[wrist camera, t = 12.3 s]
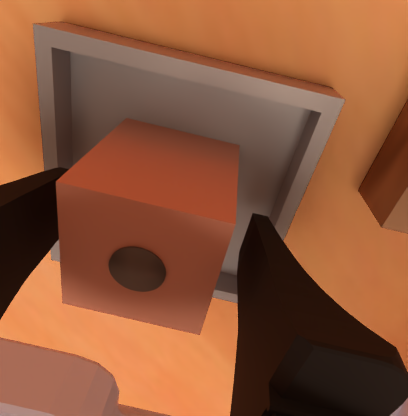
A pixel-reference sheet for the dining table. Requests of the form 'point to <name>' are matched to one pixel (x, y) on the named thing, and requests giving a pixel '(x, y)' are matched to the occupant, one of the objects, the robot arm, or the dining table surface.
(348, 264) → the dining table surface
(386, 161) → the brown square frame
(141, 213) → the block
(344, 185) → the dining table surface
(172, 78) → the tray
